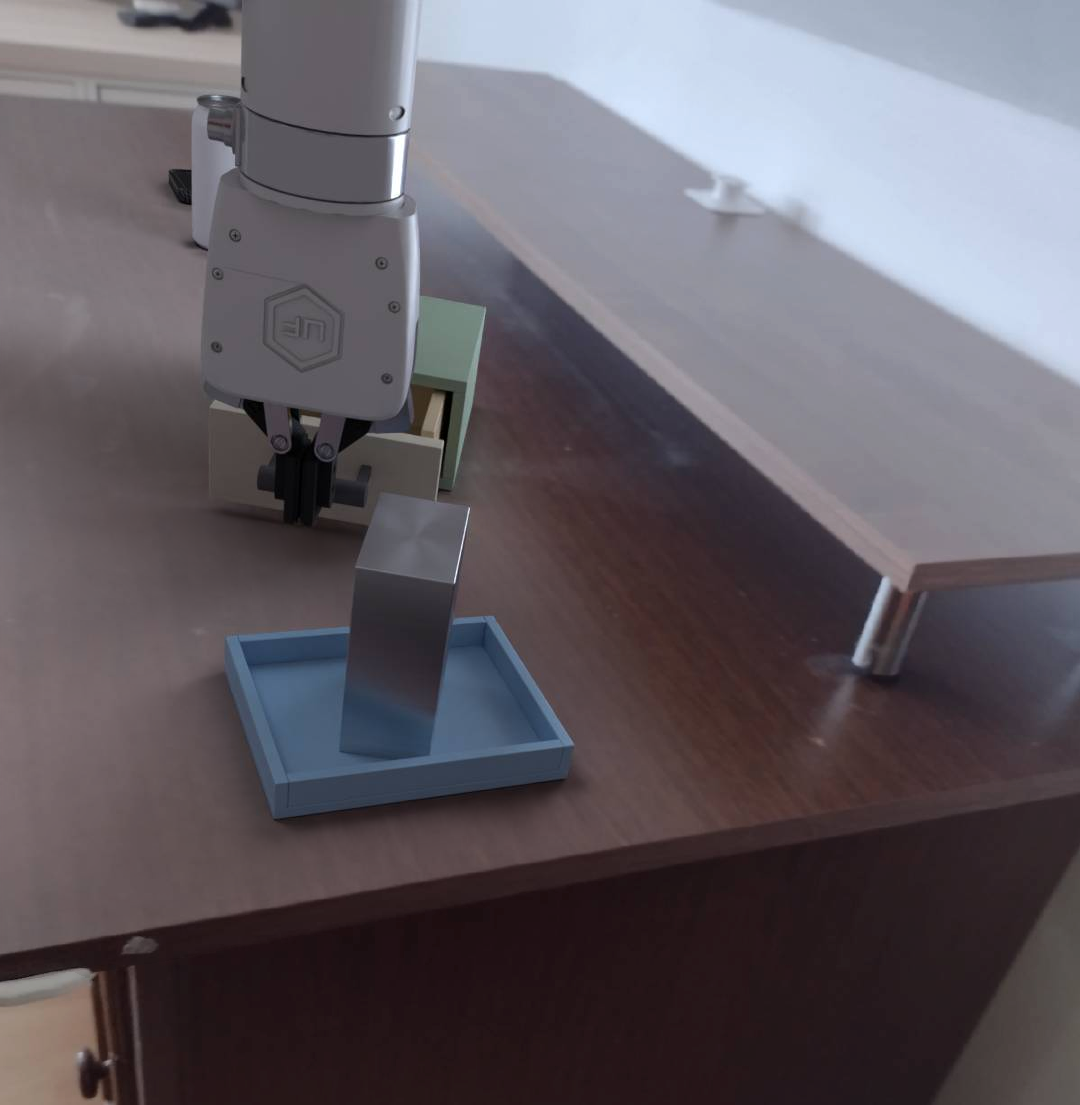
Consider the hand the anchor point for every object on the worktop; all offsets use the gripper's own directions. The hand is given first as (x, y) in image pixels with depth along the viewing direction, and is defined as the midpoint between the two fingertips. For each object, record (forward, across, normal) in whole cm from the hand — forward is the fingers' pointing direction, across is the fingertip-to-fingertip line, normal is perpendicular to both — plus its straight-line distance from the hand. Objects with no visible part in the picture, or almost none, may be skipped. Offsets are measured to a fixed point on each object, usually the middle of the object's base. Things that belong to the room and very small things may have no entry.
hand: (303, 513), depth 65 cm
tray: (+4, +7, -12) cm, 15 cm away
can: (+4, -18, +55) cm, 58 cm away
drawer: (+3, 0, +10) cm, 11 cm away
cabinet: (+4, 0, +21) cm, 21 cm away
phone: (+4, -20, +71) cm, 74 cm away
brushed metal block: (+4, +7, -12) cm, 14 cm away
